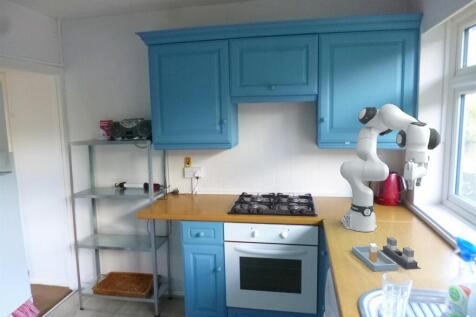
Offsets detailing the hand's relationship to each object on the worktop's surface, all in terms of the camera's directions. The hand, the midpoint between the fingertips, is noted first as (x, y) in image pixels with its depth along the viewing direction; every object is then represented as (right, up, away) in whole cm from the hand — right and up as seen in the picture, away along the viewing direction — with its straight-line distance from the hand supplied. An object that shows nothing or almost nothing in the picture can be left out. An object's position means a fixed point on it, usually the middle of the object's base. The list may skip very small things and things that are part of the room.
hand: (414, 187), depth 149 cm
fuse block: (-10, -32, -5) cm, 34 cm away
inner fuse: (-11, -30, +1) cm, 32 cm away
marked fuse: (-22, -31, -6) cm, 39 cm away
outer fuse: (-9, -32, -11) cm, 35 cm away
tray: (-22, -32, -7) cm, 40 cm away
